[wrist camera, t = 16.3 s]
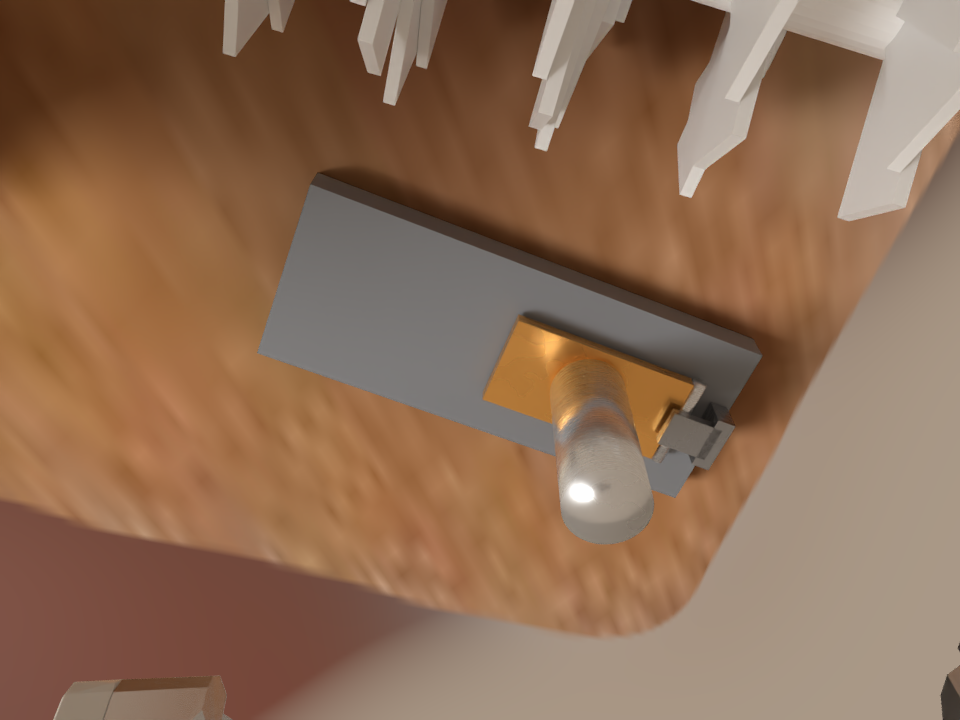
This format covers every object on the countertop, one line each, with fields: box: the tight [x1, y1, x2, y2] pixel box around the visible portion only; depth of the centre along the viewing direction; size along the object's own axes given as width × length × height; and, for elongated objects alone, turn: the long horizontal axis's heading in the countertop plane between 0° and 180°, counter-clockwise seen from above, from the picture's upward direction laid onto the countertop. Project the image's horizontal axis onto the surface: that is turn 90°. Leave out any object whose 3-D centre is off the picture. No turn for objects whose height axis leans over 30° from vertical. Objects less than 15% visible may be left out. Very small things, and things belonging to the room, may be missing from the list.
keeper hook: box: [656, 402, 735, 470], centre depth 49 cm, size 3×3×2 cm
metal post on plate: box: [482, 314, 707, 544], centre depth 44 cm, size 11×5×11 cm, turn 68°
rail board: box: [257, 173, 762, 498], centre depth 49 cm, size 25×10×2 cm, turn 68°
